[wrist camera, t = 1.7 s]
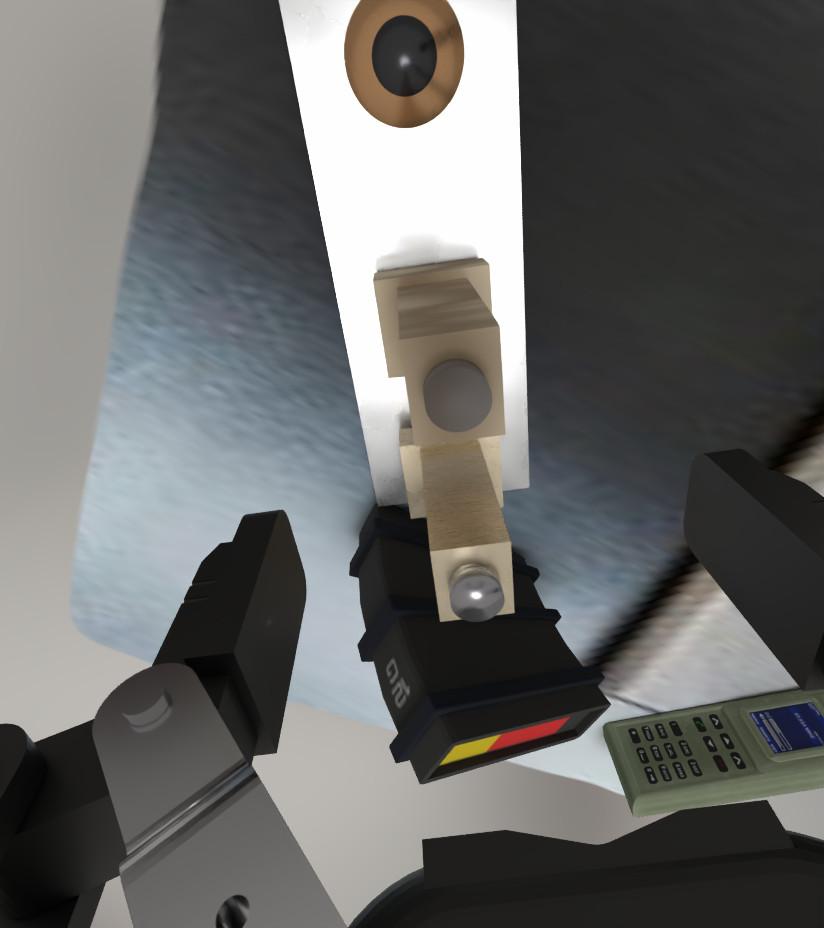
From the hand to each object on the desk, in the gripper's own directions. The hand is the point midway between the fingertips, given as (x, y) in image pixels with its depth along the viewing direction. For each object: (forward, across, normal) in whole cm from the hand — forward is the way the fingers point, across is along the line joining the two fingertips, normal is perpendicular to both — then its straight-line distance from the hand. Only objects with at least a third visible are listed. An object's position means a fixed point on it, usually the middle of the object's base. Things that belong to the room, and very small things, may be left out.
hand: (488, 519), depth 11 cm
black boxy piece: (+19, 0, +16) cm, 25 cm away
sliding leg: (+17, 0, 0) cm, 17 cm away
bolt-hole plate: (+19, 0, -3) cm, 19 cm away
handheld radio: (+19, -23, +36) cm, 47 cm away
